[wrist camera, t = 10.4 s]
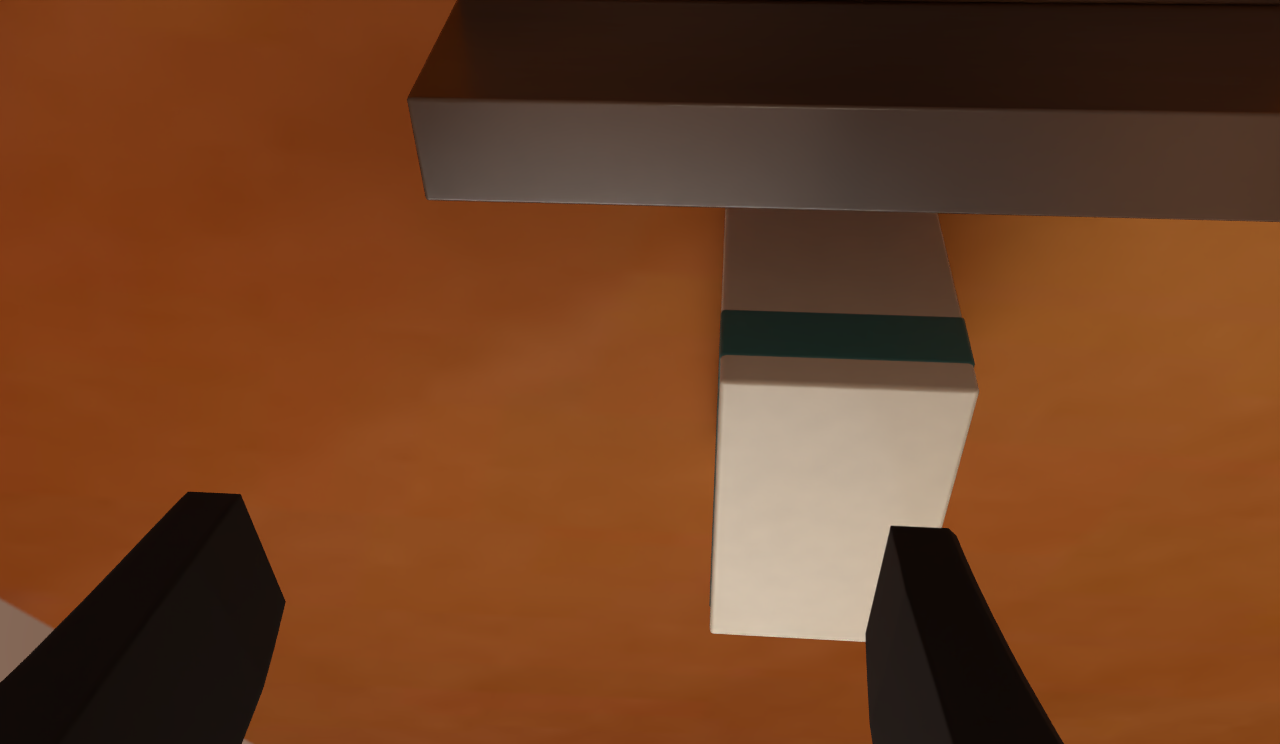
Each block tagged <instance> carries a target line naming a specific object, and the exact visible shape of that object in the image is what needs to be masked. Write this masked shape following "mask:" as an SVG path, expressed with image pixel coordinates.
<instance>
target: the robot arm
mask: <svg viewBox="0 0 1280 744" xmlns="http://www.w3.org/2000/svg"><path fill="white" fill-rule="evenodd" d="M284 606H285V599H284V597H283V594H282V592H281V590H280V587H279V585H278V583H277V580H276V578H275V575H274V573H273V571H272V568H271V566H270V563H269V561H268V559H267V556H266V554H265V551H264V549H263V547H262V544H261V542H260V539H259V537H258V535H257V532H256V530H255V528H254V525H253V523H252V520H251V518H250V516H249V513H248V511H247V508H246V506H245V504H244V501H243V499H242V496H241V494H225V493H205V492H187V493H186V494H185V495H184V496H183V497H182V498H181V499H180V500H179V501H178V502H177V503H176V504H175V505H174V506H173V507H172V508H171V509H170V510H169V511H168V512H167V513H166V514H165V515H164V516H163V518H162V519H161V520H160V521H159V522H158V523H157V524H156V525H155V526H154V527H153V528H152V529H151V530H150V531H149V532H148V533H147V534H146V535H145V536H144V537H143V539H142V540H141V541H140V542H139V543H138V544H137V545H136V546H135V547H134V548H133V549H132V550H131V551H130V552H129V553H128V554H127V555H126V556H125V557H124V559H123V560H122V561H121V562H120V563H119V564H118V565H117V566H116V567H115V568H114V569H113V570H112V571H111V572H110V573H109V574H108V575H107V576H106V577H105V578H104V579H103V581H102V582H101V583H100V584H99V585H98V586H97V587H96V588H95V589H94V590H93V591H92V592H91V593H90V594H89V595H88V596H87V597H86V598H85V599H84V600H83V601H82V602H81V603H80V604H79V605H78V606H77V607H76V608H75V609H74V610H73V611H72V612H71V613H70V614H69V615H68V616H67V617H66V618H65V619H64V620H63V621H62V622H61V623H60V624H59V625H58V626H57V627H56V628H55V629H54V631H53V632H52V633H51V634H50V635H49V636H48V637H47V638H46V639H45V640H44V641H43V642H42V643H41V644H40V645H39V646H38V647H37V648H36V649H35V650H34V651H33V652H32V653H31V654H30V655H29V656H28V657H27V658H26V659H25V660H24V661H23V662H21V663H20V665H18V666H17V667H16V669H14V670H13V671H12V672H11V673H10V674H9V675H8V676H7V677H6V678H5V679H4V680H3V681H2V682H0V744H242V742H243V739H244V736H245V734H246V731H247V729H248V726H249V724H250V721H251V719H252V716H253V713H254V711H255V708H256V706H257V703H258V700H259V698H260V695H261V693H262V690H263V687H264V684H265V680H266V676H267V673H268V669H269V665H270V662H271V658H272V654H273V651H274V647H275V643H276V639H277V635H278V631H279V627H280V622H281V618H282V614H283V610H284ZM865 637H866V660H867V683H868V701H869V719H870V729H871V735H872V742H873V744H1064V743H1063V742H1062V740H1061V738H1060V737H1059V735H1058V733H1057V732H1056V730H1055V728H1054V726H1053V725H1052V723H1051V721H1050V719H1049V718H1048V716H1047V714H1046V712H1045V711H1044V709H1043V707H1042V705H1041V704H1040V702H1039V700H1038V698H1037V697H1036V695H1035V693H1034V691H1033V690H1032V688H1031V686H1030V684H1029V683H1028V681H1027V679H1026V677H1025V676H1024V674H1023V672H1022V670H1021V668H1020V666H1019V665H1018V663H1017V661H1016V659H1015V657H1014V655H1013V654H1012V652H1011V650H1010V648H1009V646H1008V644H1007V642H1006V640H1005V638H1004V636H1003V634H1002V632H1001V630H1000V628H999V626H998V625H997V623H996V621H995V619H994V617H993V615H992V613H991V611H990V609H989V607H988V605H987V603H986V600H985V598H984V596H983V594H982V592H981V590H980V588H979V586H978V584H977V582H976V579H975V577H974V575H973V573H972V571H971V569H970V566H969V564H968V562H967V560H966V557H965V555H964V553H963V550H962V548H961V546H960V543H959V541H958V538H957V536H956V535H955V534H954V533H953V532H952V531H951V530H950V529H949V528H932V527H911V526H890V531H889V535H888V539H887V543H886V548H885V552H884V556H883V560H882V565H881V569H880V573H879V577H878V582H877V586H876V590H875V595H874V599H873V603H872V607H871V612H870V616H869V620H868V624H867V629H866V633H865Z"/></svg>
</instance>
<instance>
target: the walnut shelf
mask: <svg viewBox="0 0 1280 744" xmlns="http://www.w3.org/2000/svg"><path fill="white" fill-rule="evenodd" d="M407 101H408V107H409V112H410V117H411V123H412V128H413V133H414V138H415V144H416V149H417V154H418V159H419V165H420V170H421V175H422V180H423V186H424V191H425V196H426V199H427V200H446V201H485V202H524V203H563V204H602V205H641V206H680V207H719V208H758V209H797V210H836V211H875V212H914V213H953V214H992V215H1031V216H1070V217H1109V218H1148V219H1187V220H1226V221H1265V222H1280V0H457V1H456V3H455V5H454V7H453V9H452V11H451V13H450V15H449V17H448V19H447V21H446V23H445V25H444V27H443V29H442V31H441V33H440V35H439V37H438V39H437V41H436V43H435V45H434V47H433V49H432V51H431V53H430V55H429V57H428V59H427V60H426V62H425V64H424V66H423V68H422V70H421V72H420V74H419V76H418V78H417V80H416V82H415V84H414V86H413V88H412V90H411V92H410V94H409V96H408V99H407Z"/></svg>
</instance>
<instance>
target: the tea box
mask: <svg viewBox="0 0 1280 744" xmlns="http://www.w3.org/2000/svg"><path fill="white" fill-rule="evenodd" d="M974 365H975V363H974V359H973V354H972V350H971V346H970V342H969V337H968V333H967V329H966V325H965V321H964V319H963V318H962V316H961V312H960V307H959V303H958V299H957V294H956V290H955V286H954V282H953V277H952V273H951V269H950V265H949V260H948V256H947V252H946V247H945V243H944V239H943V235H942V230H941V226H940V222H939V218H938V213H914V212H875V211H836V210H797V209H758V208H725V231H724V256H723V282H722V307H721V321H720V347H719V373H718V398H717V424H716V450H715V476H714V501H713V527H712V553H711V580H710V631H711V633H715V634H733V635H751V636H769V637H788V638H806V639H824V640H842V641H860V642H866V637H865V633H866V629H867V624H868V620H869V616H870V612H871V607H872V603H873V599H874V595H875V590H876V586H877V582H878V577H879V573H880V569H881V565H882V560H883V556H884V552H885V548H886V543H887V539H888V535H889V531H890V526H911V527H932V528H942V525H943V521H944V518H945V514H946V510H947V507H948V503H949V499H950V496H951V492H952V488H953V485H954V481H955V477H956V474H957V470H958V467H959V463H960V459H961V456H962V452H963V448H964V445H965V441H966V437H967V434H968V430H969V426H970V423H971V419H972V415H973V412H974V408H975V404H976V401H977V397H978V393H979V389H978V384H977V380H976V376H975V371H974Z"/></svg>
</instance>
